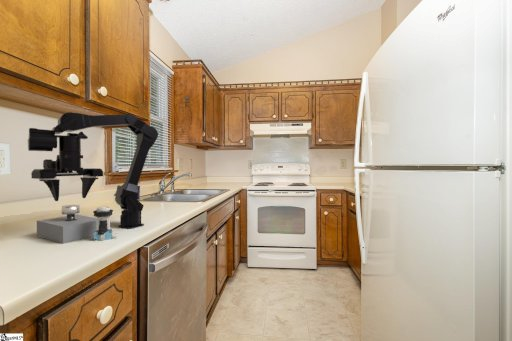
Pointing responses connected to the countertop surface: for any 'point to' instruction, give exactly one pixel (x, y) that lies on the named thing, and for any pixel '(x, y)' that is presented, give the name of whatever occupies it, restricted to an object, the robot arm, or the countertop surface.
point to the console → (67, 228)
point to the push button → (103, 224)
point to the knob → (70, 211)
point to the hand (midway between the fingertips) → (70, 199)
